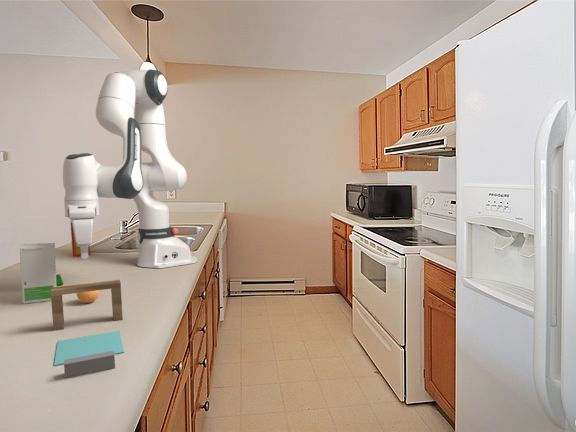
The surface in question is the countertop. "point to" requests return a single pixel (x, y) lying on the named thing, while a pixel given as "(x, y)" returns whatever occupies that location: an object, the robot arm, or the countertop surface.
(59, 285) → the dish sponge
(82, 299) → the ball
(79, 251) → the baking soda box
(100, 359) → the stopper
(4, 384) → the countertop surface
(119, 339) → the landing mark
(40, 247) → the skincare box
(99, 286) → the bridge
